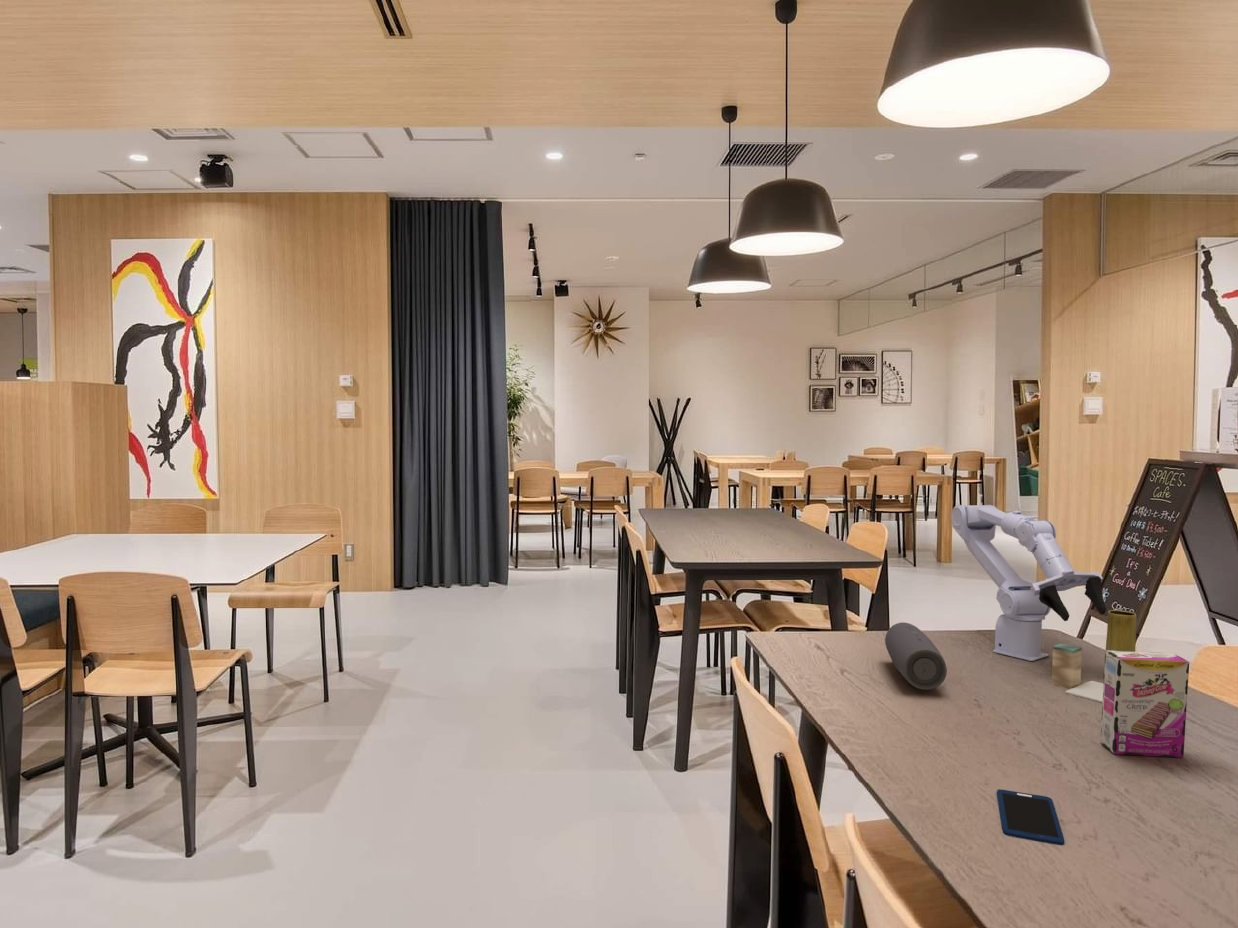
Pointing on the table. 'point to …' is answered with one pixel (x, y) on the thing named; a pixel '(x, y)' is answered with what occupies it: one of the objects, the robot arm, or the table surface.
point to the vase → (1121, 631)
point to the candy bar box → (1144, 703)
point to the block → (1066, 665)
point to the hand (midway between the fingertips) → (1085, 615)
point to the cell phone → (1029, 817)
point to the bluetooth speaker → (915, 656)
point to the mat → (1088, 691)
